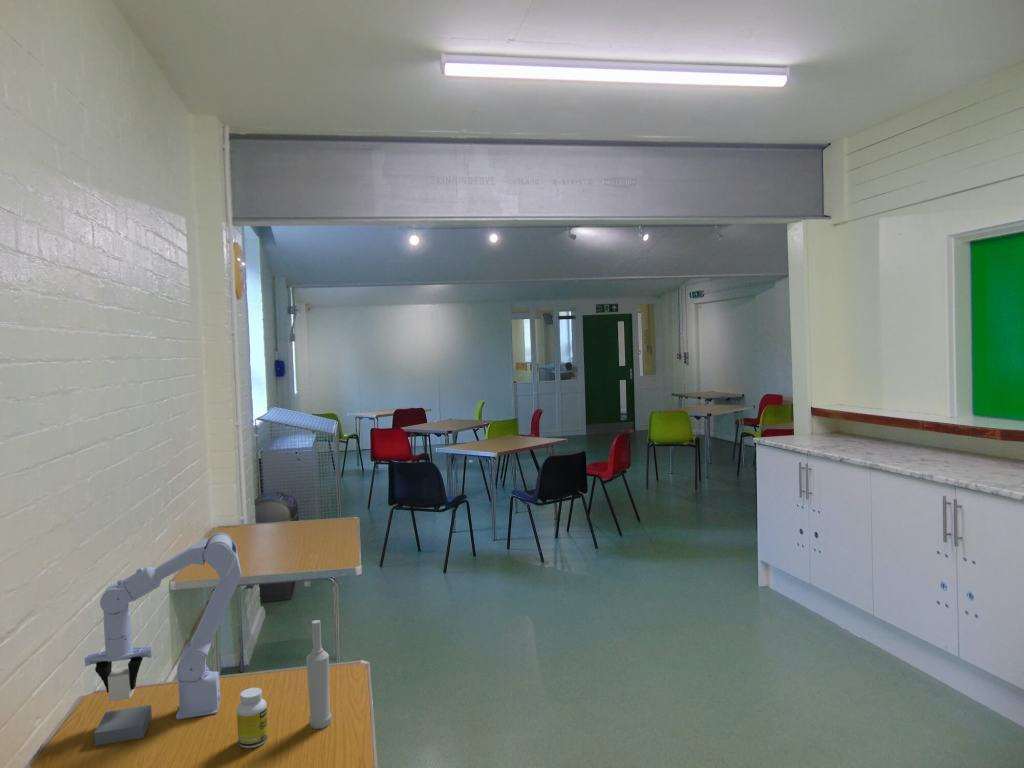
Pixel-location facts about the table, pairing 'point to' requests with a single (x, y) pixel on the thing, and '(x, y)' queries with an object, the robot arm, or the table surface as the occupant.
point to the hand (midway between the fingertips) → (121, 689)
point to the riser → (123, 725)
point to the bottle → (318, 681)
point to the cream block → (119, 684)
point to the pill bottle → (252, 718)
